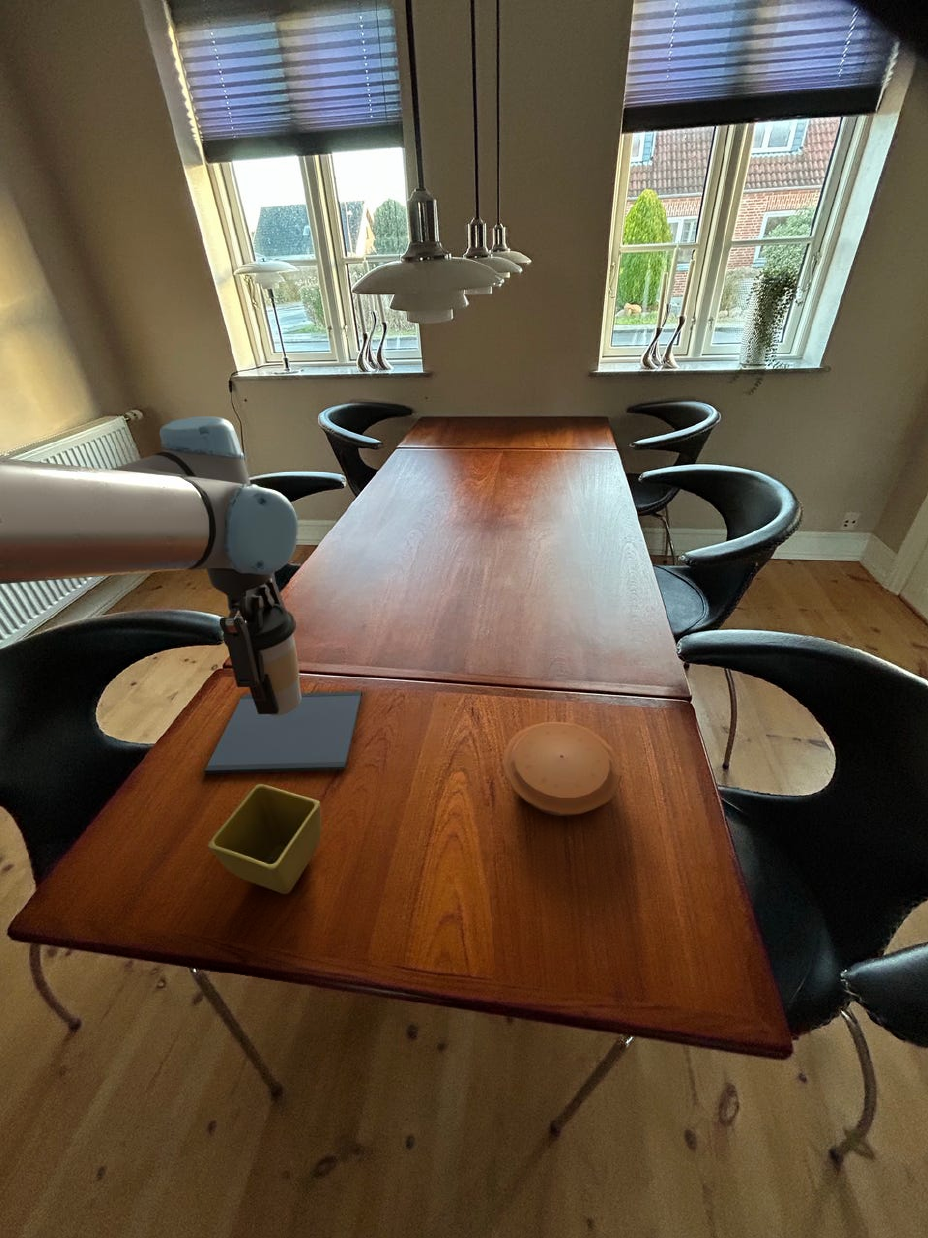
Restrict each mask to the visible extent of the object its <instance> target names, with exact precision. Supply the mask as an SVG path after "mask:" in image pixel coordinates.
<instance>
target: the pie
mask: <svg viewBox="0 0 928 1238" xmlns="http://www.w3.org/2000/svg"><path fill="white" fill-rule="evenodd" d="M501 766H502V770H503V773H504V777H505V779H506V781H507V782H508V784H509V786H510V788H511V789H512V790H513V792H514V793H515V794H516V795H518V796H519V797H520V798H521V799H522V800H523V801H525V802H526V803H528V804H530V805H532V806H533V807H534V808H536V809H537V810H539V811H541V812H544V813H545V814H549V815H554V816H556V817H557V816H558V817H562V816H563V817H568V816H575V815H582V814H585V813H587V812H591V811H593V810H595V809H597V808H599V807H601V806H604V805H605V804H607V803H609V802H610V801H611V800H612V798H613V796H614V795H615V794H616V793H617V792H618V789H619V787H620V783H621V780H622V777H623V775H622V766H621V762H620V759H619V758H618V756H617V754H616V752H615V750H614V749H613V748H612V746H610V745H609V744H608V742H607V741H606V740H605V739H604V738H602V737H601V736H599V735H597V734H596V733H595V732H594V731H592V730H590V729H588V728H586V727H584V726H582V725H579V724H577V723H571V722H564V721H563V722H562V721H549V722H547V721H545V722H542V723H537V724H533V725H532V724H531V725H529V726H528V727H526V728H523V729H521V730H519V731H518V732H517V733H516V734H515V735H514V736H513V737H511V739H510V740H509V741H508V743H507V746H506V748H505V750H504V753H503V759H502V763H501Z"/></svg>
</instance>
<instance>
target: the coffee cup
mask: <svg viewBox="0 0 928 1238" xmlns="http://www.w3.org/2000/svg"><path fill="white" fill-rule="evenodd" d="M285 608H286V607H285ZM285 608H284V607H283V606H281V605H278V604H274V605H273V609H272V610H264V611H263V612H262V617H263V628H262V629H260V630H259V631H258V632H257V634H249V636H250V641H251V642H252V641H254V640H255V639H256V638H257V640H258V644H251V645H252V650H253V652H254V651H260V652H261V654H262V657H263V666H264V674H268V676H269V679H270V682H271V685H272V688H273V692H274V695H275V698H276V701H277V704H278V707H279V712H278V714H268V715H272V716H279V715H283V714H286V713H288V712H290V711H292V710H293V709H295V708H296V707H297V706H298V705H299V704H300V702H301V693H302V691H301V684H300V669H299V660H298V654H297V653H298V651H297V646H296V639H295V638H294V633H295V630H296V628H297V621H296V619H295V618H294V616H293V614H292V613H291V612H290V611H288V610H287V608H286V609H285ZM254 623H255V621H253V622H247V624H254ZM222 637H223V643H224V645H225V646H226V647H227V648H228V646H227V642H226V638H225V635H224V633H223V632H222Z"/></svg>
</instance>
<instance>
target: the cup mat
mask: <svg viewBox="0 0 928 1238" xmlns="http://www.w3.org/2000/svg"><path fill="white" fill-rule="evenodd" d="M362 696H363V692H362V691H360V690H359V691H327V692H326V691H323V692H321V691H320V692H301V702H300V704H299V705H298V706H297V707H296V708H295V709H293V710H292V711H290V712H288V713H286V714H283V715H279V716H272V715H268V714H258V712H257V709H256V706H255V703H254V700H253V697H252V694H251V693H250V694H242V695H241V696H240V699H239V701H238V703H237V706H236V707H235V709H234V710H233V713H232V715H231V717H230V719H229V721H228V723H227V725H226V727H225V729H224V730H223V733H222V735H221V737H220V738H219V741H218V743H217V745H216V747H215V749H214V750H213V753H212V755H211V757H210V759H209V761H208V763H207V764H206V766H205V769H204V773H205V774H232V773H233V774H234V773H239V774H240V773H271V772H309V771H311V772H313V771H341V770H342V771H344V770H346V765H347V762H348V757H349V753H350V748H351V744H352V741H353V735H354V730H355V727H356V723H357V718H358V714H359V709H360V704H361V701H362Z"/></svg>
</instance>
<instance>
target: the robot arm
mask: <svg viewBox="0 0 928 1238" xmlns="http://www.w3.org/2000/svg"><path fill="white" fill-rule="evenodd" d="M159 437H160V442H161V444H160V446H161V447H162V449H163V450H161V451H159V452H158V451H157V452H156V453H154V454H151V455H150V456H146V457H144V458H143V457H142V458H141V459H137V460H134V461H130V462H128V463H125V464H122V465H119V466H116V467H112V468H110V469H109V468H99V467H90V466H81V465H73V464H71V465H70V464H63V463H62V464H61V463H54V462H53V463H52V462H43V461H32V460H25V459H15V458H5V457H0V585H8V584H20V583H32V582H33V583H34V582H45V581H58V580H71V579H85V578H97V577H112V576H122V575H123V576H124V575H136V574H148V573H149V574H151V573H160V572H161V573H162V572H163V573H164V572H173V571H195V570H206V572H207V575H208V578H209V582H210V583H211V584H210V585H211V586H212V588H214V589H215V590H217V591H219V592H221V593H223V594H224V595H225V596H226V598H227V606H228V607H227V608H228V610H229V614H228V615H227V616H226V617H220V618H219V621H218V622H219V626H220V629H221V631H222V634H223V633H224V635H225V638H226V642H227V646H228V647H227V646H226V647H227V651H228V654H229V659H230V663H231V668H232V671H233V672H232V673H233V676H234V680H235V685H236V687H237V688H248V689H249V692H250V695H251V694H252V697H253V700H254V703H255V706H256V709H257V712H258V714H278V712H279V707H278V704H277V701H276V698H275V695H274V692H273V688H272V685H271V682H270V679H269V676H268V674H264V666H263V657H262V654H261V652H260V651H254V652H253V650H252V645H251V644H258V640H257V638H256V639H255V640H254V641H252V642H251V641H250V636H249V634H257V632H258V631H259V630H260V629H262V628H263V617H262V612H263V611H264V610H272V609H273V605H274V604H278V605H281V606H283V607H284V608H285V609H286V610H287V608H286V605H285V603H284V600H283V598H282V595H281V592H280V590H279V587H278V584H277V582H276V576H275V573H276V572H278V571H279V570H281V569H282V568H283V567H285V566H286V565H287V564H288V563H289V561H290V560H291V558H292V557H293V555H294V553H295V551H296V547H297V544H298V541H299V540H298V539H299V538H298V535H299V532H298V531H299V520H298V516H297V513H296V510H295V508H294V506H293V504H292V503H291V501H290V500H289V499H288V498H287V497H286V496H285V495H283V494H282V493H281V492H279V491H277V490H274V489H271V488H265V487H261V486H259V485H257V484H252V483H251V479H250V475H249V471H248V468H247V463H246V461H245V459H246V456H245V454H244V451H243V450H242V447H241V443H240V440H239V438H238V435H237V432H236V430H235V427H234V426H233V424H232V423H231V422H230V421H229V420H227V419H225V418H222V417H220V416H208V415H207V416H194V417H193V416H192V417H185V418H180V419H176V420H173V421H170V422H168V423H167V424H165V425H163V426H161V428H160V429H159ZM253 621H255V623H254V624H247V622H253Z"/></svg>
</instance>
